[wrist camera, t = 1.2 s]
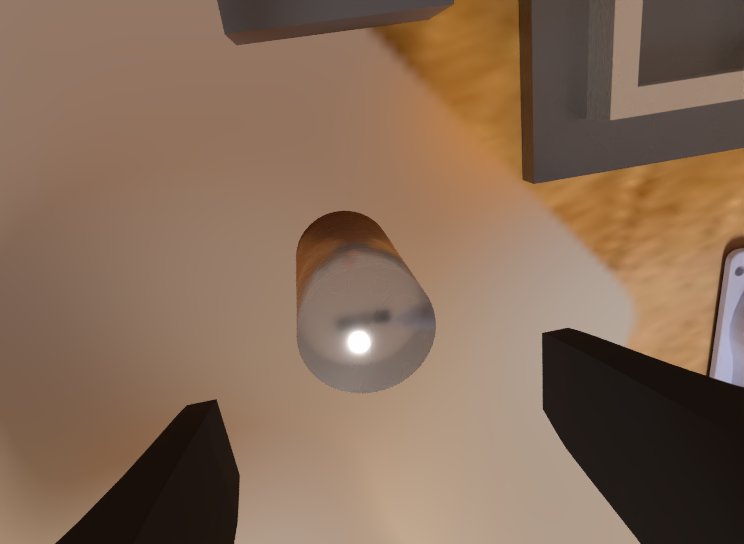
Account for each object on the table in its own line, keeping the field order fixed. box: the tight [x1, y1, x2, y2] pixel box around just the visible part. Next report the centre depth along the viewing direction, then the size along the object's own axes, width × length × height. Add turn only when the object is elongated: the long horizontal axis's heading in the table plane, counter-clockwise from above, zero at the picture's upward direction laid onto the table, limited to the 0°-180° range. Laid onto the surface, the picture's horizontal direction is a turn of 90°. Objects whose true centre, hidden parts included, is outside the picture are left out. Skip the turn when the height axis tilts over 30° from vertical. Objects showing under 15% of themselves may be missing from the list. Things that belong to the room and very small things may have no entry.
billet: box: [296, 211, 436, 393], centre depth 17 cm, size 4×4×7 cm
